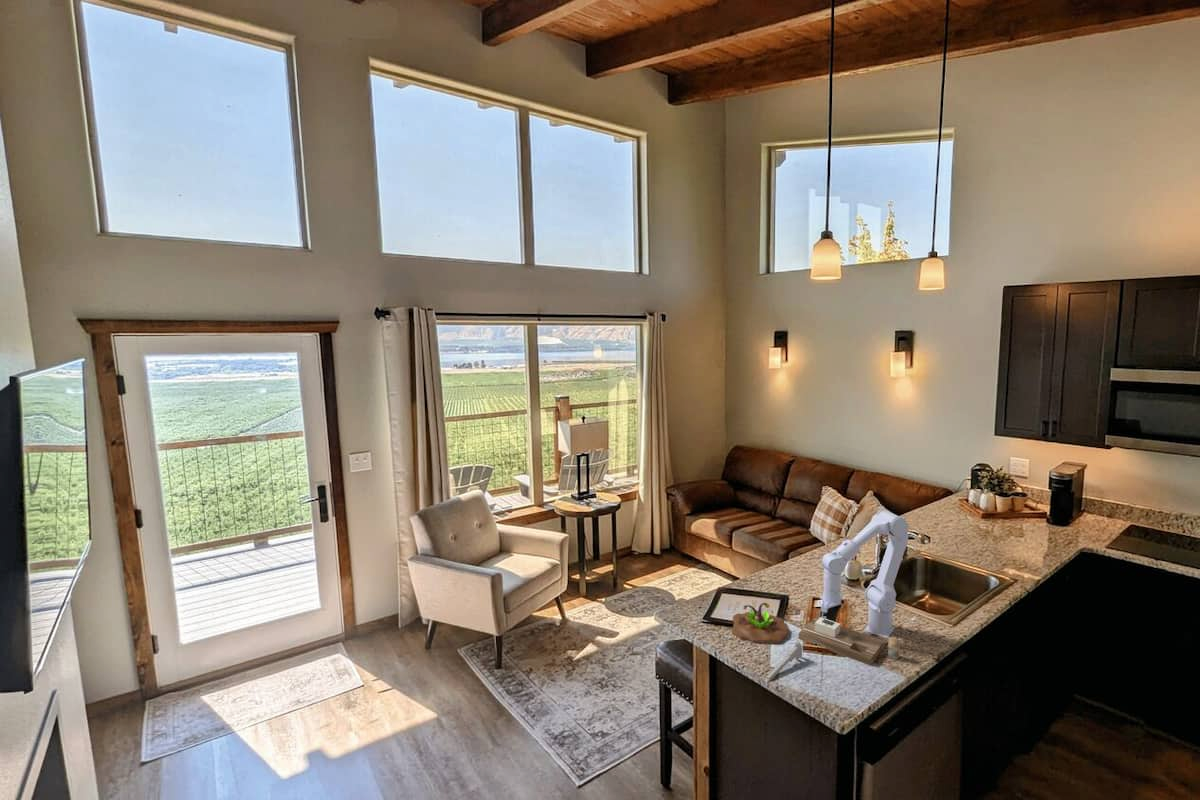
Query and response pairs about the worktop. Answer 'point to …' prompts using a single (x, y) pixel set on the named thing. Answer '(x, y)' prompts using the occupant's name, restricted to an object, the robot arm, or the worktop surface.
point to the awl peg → (893, 648)
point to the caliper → (786, 661)
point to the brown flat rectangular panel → (845, 643)
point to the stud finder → (827, 627)
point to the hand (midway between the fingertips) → (831, 623)
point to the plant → (759, 627)
